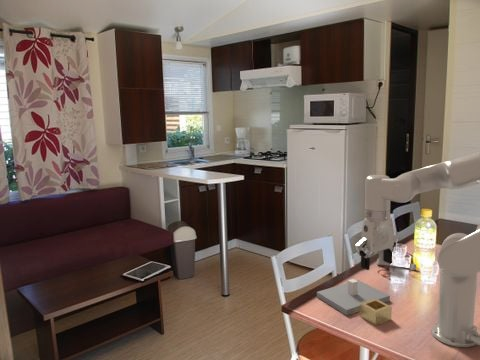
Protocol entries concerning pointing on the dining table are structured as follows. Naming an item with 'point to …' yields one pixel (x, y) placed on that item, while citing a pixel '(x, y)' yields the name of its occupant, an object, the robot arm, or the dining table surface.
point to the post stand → (351, 296)
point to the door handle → (382, 263)
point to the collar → (375, 311)
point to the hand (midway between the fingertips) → (376, 265)
